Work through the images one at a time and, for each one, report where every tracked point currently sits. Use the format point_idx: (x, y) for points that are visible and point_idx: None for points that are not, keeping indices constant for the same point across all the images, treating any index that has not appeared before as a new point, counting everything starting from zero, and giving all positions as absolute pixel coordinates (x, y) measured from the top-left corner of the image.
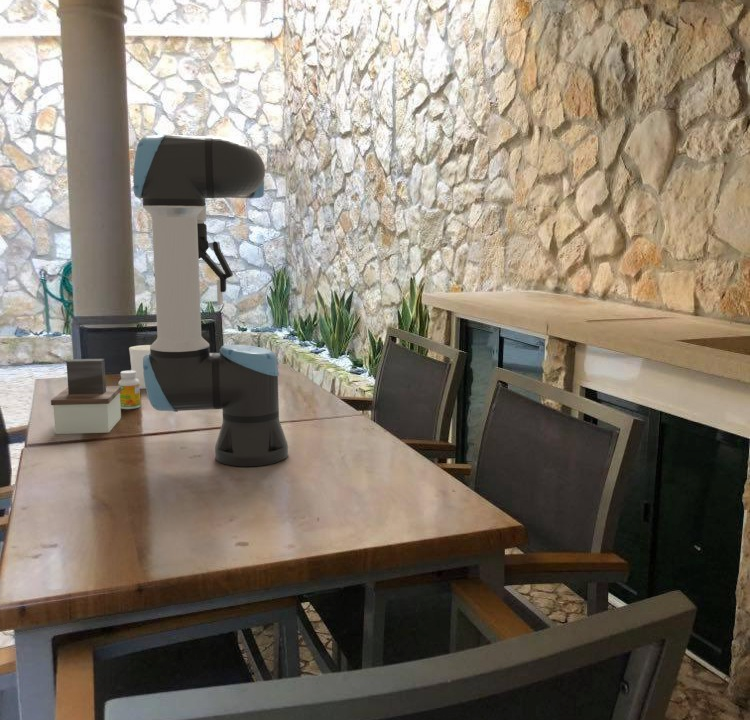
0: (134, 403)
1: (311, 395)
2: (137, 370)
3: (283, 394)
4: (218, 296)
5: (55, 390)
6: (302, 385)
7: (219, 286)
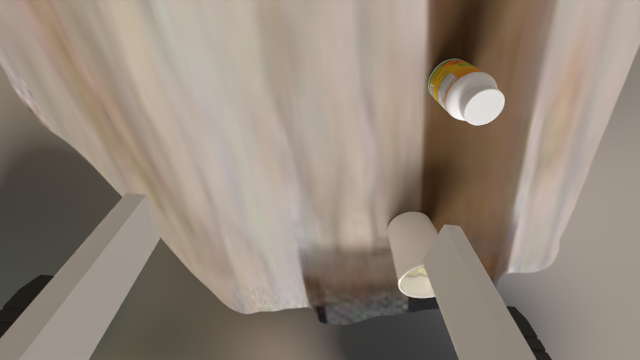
0: (444, 65)
1: (110, 147)
2: (434, 234)
3: (168, 158)
4: (103, 236)
5: (550, 211)
6: (159, 215)
7: (27, 313)
